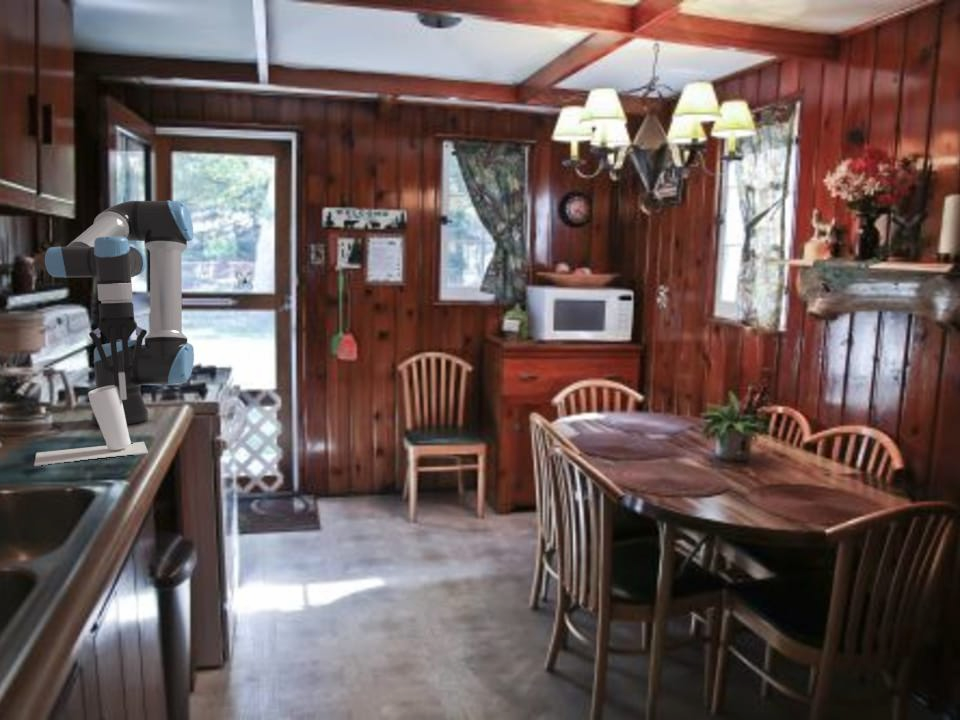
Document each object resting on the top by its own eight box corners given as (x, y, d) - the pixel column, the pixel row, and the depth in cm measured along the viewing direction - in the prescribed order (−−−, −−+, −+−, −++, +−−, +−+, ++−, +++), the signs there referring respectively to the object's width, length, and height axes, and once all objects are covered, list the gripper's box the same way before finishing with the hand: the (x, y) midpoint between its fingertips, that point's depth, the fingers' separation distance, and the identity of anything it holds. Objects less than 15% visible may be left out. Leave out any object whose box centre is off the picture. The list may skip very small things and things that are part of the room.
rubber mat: (144, 443, 201) (143, 441, 201) (148, 453, 190) (148, 452, 190) (36, 454, 190) (36, 452, 190) (34, 466, 179) (34, 464, 179)
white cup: (133, 447, 191) (116, 388, 187) (103, 454, 189) (85, 395, 185) (135, 439, 197) (118, 383, 193) (106, 447, 195) (89, 389, 191)
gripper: (143, 300, 195) (150, 394, 198) (85, 302, 189) (93, 399, 192) (146, 301, 188) (153, 398, 191) (86, 303, 182) (94, 403, 185)
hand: (123, 398), depth 191 cm, fingers closed
